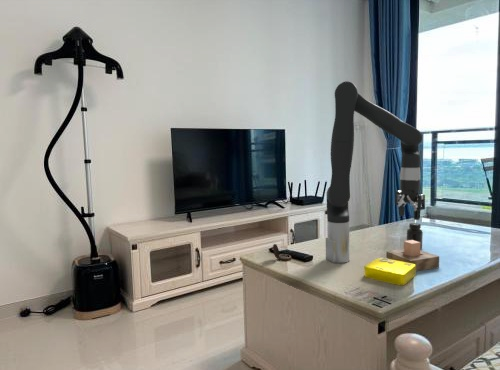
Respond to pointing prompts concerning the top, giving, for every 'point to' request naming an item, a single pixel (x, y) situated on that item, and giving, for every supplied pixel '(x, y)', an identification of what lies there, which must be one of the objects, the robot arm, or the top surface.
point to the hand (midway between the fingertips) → (409, 217)
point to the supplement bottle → (415, 233)
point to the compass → (282, 257)
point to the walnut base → (415, 259)
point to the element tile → (390, 271)
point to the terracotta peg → (412, 248)
